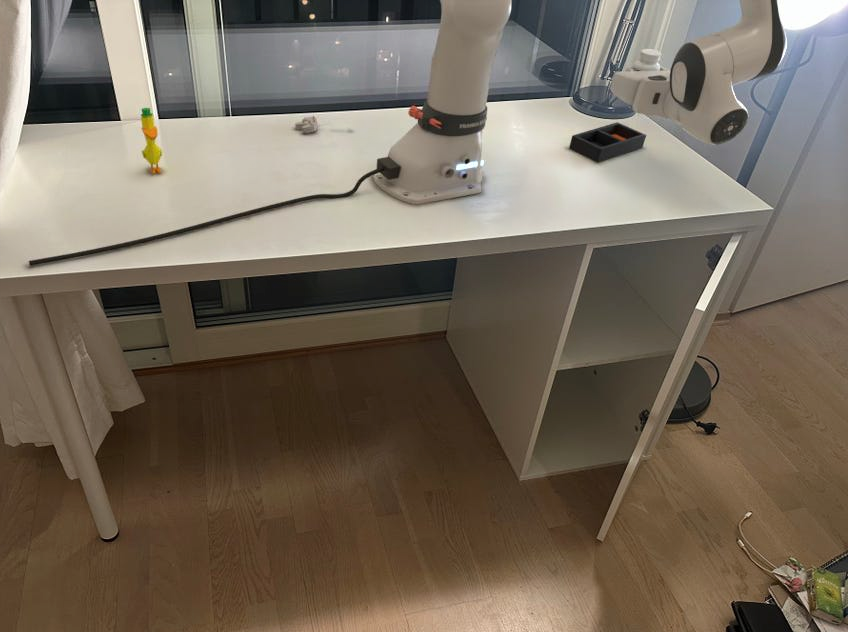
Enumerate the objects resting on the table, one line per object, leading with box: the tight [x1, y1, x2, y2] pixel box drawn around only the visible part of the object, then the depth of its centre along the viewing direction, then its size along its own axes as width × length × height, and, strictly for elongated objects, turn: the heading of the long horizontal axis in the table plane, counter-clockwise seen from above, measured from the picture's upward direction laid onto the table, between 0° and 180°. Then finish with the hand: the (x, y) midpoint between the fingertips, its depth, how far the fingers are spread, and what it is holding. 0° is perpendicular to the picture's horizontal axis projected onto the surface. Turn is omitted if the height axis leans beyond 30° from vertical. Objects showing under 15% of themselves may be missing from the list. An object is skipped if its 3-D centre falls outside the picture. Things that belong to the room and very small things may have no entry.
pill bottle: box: [632, 48, 662, 71], centre depth 145 cm, size 5×5×10 cm
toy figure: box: [140, 107, 163, 175], centre depth 131 cm, size 7×4×12 cm, turn 24°
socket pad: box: [568, 121, 647, 164], centre depth 155 cm, size 8×15×3 cm, turn 126°
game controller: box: [294, 115, 350, 134], centre depth 154 cm, size 6×12×3 cm, turn 109°
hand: (642, 71), depth 145 cm, fingers closed on pill bottle, 5 cm apart
